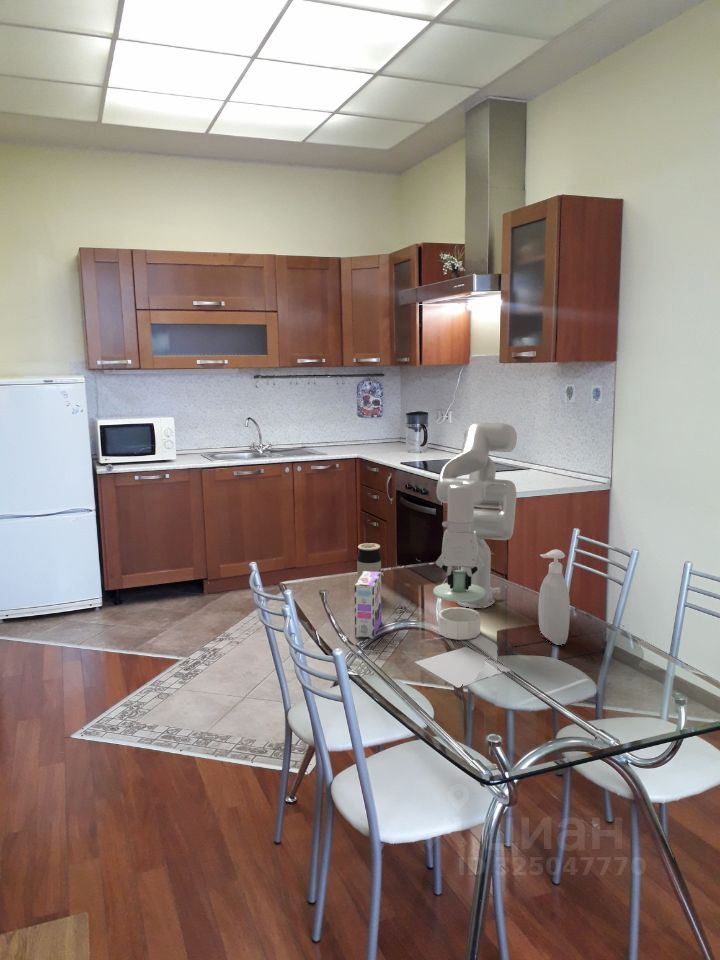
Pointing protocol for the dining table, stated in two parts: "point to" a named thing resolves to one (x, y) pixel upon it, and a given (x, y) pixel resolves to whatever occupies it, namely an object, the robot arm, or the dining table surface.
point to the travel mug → (368, 558)
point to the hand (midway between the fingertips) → (459, 587)
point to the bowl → (459, 623)
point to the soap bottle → (554, 601)
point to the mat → (457, 666)
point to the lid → (459, 589)
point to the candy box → (368, 604)
